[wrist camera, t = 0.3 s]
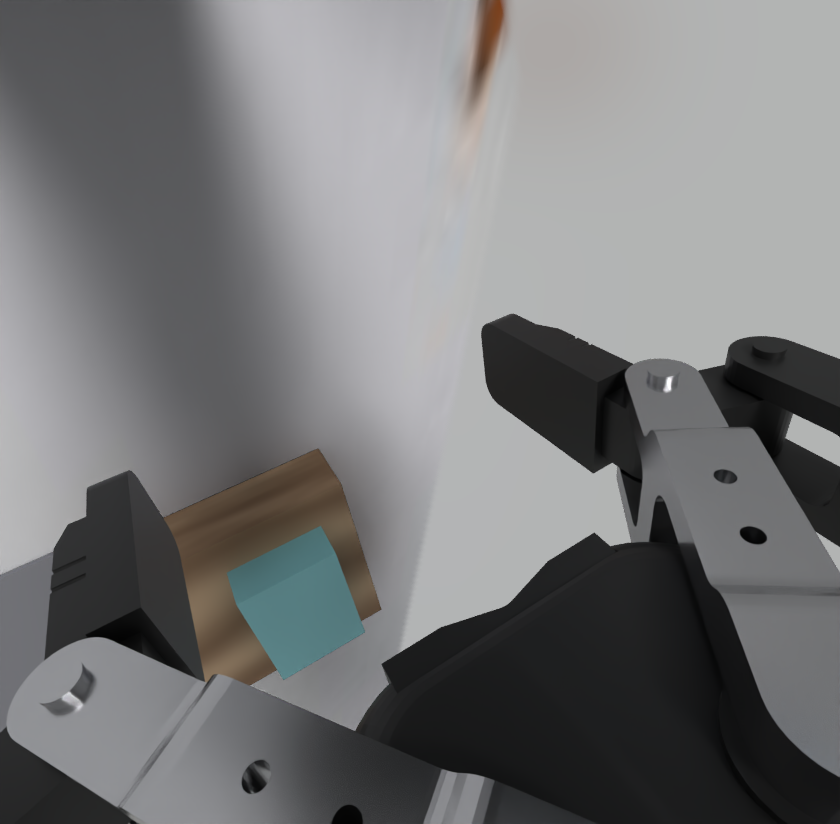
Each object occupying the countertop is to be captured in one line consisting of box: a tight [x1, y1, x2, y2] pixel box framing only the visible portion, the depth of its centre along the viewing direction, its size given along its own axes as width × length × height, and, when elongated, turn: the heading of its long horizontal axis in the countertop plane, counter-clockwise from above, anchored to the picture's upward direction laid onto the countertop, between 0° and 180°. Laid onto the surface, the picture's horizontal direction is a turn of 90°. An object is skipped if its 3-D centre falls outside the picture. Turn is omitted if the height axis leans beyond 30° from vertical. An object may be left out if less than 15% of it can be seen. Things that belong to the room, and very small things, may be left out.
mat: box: [0, 552, 53, 732], centre depth 32 cm, size 16×16×1 cm
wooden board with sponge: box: [163, 449, 381, 686], centre depth 35 cm, size 14×14×4 cm
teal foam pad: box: [227, 526, 365, 680], centre depth 33 cm, size 9×6×2 cm, turn 8°
